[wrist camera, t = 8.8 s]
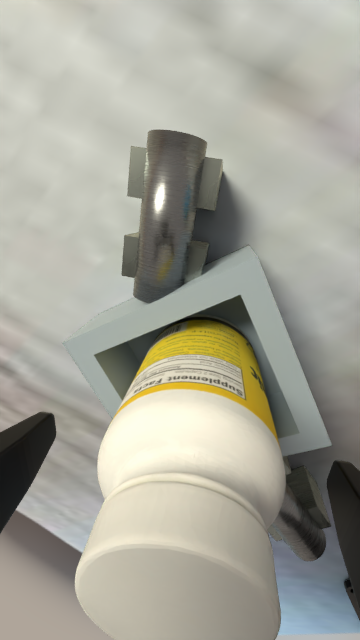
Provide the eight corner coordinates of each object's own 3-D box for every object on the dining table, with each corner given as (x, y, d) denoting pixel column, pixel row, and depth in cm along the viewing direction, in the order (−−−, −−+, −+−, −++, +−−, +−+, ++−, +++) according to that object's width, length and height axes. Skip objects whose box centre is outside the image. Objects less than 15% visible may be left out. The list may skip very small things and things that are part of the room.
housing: (308, 393, 15) (332, 445, 11) (168, 432, 17) (155, 484, 14) (249, 245, 12) (257, 256, 9) (98, 314, 15) (62, 343, 12)
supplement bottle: (245, 411, 15) (278, 712, 6) (148, 393, 15) (43, 645, 6) (268, 320, 13) (373, 564, 4) (156, 302, 13) (19, 483, 4)
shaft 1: (200, 288, 14) (193, 311, 10) (137, 276, 14) (111, 296, 11) (225, 159, 11) (225, 138, 8) (150, 148, 12) (121, 123, 8)
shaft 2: (320, 488, 17) (343, 553, 14) (273, 503, 18) (284, 567, 15) (261, 406, 15) (271, 457, 12) (213, 428, 16) (210, 480, 13)
